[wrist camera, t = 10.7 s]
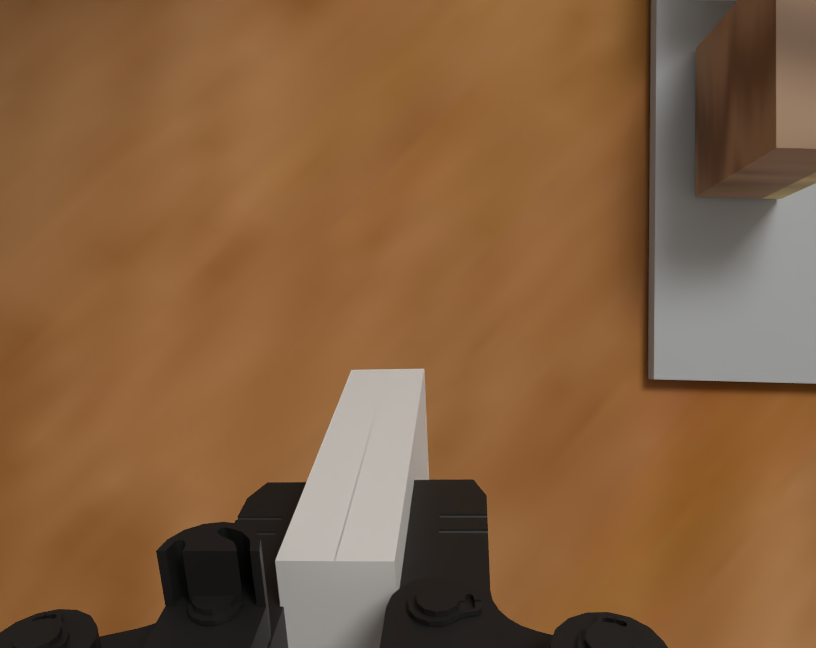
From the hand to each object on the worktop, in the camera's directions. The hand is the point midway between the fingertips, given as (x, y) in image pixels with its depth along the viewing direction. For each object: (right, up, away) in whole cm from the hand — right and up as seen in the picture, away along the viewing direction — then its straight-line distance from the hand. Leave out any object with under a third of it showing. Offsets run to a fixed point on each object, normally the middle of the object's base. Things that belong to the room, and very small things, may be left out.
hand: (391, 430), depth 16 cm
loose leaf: (+18, +14, +25) cm, 34 cm away
